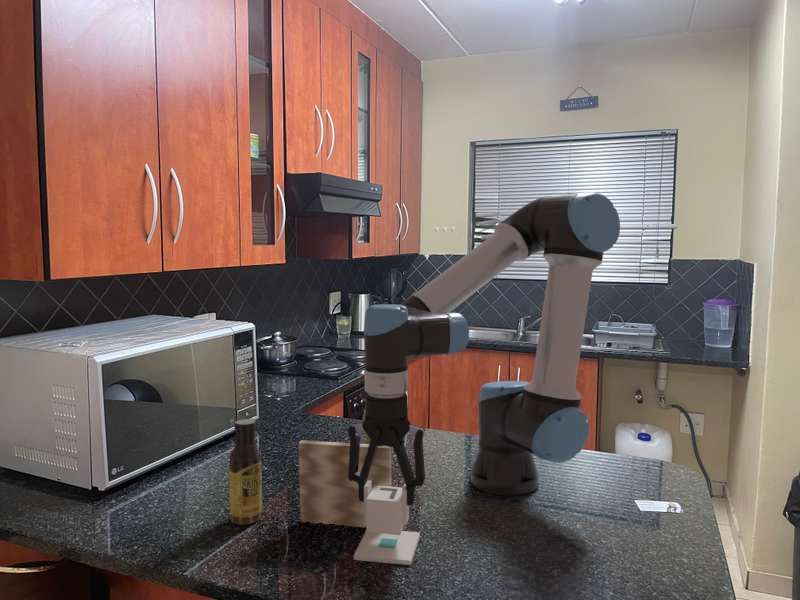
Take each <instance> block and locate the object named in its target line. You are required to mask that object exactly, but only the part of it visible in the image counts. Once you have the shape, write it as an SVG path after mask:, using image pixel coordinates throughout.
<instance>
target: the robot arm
mask: <svg viewBox="0 0 800 600" xmlns="http://www.w3.org/2000/svg"><path fill="white" fill-rule="evenodd" d="M493 231H494V233H492V234H491V235H490V236H489V237H487V238H486V239H485V240H484V241H482V242H481V243H480V244H478V245H477V246H475V248H473V249H471V251H469V252H468V253H466V254H465V255H463V256H462V257H460V259H459V260H457V261H456V262H455V263H453V264H452V265H451V266H449V267H448V268H447V269H445V270H444V271H443V272H441V273H440V274H439V275H437V276H436V277H434V278H433V279H432V280H430V281H429V282H428V283H426V285H424V286H423V287H421V289H419V290H417V291H416V292H415V293H413V294H412V295H411V296H410V297H408V298H407V299H405V300H404V301H402V302H401V303H400V304H397V303H396V304H395V303H393V304H392V303H391V304H387V303H386V304H385V303H383V304H373V305H369V306H368V307H367V308H366V310H365V313H364V322H363V323H364V325H363V336H364V340H363V341H364V391H365V396H364V410H365V419H364V421H363V420H362V422H360V423H355V422H353V423H351V424H350V425H349V426H348V427H347V433H348V436H349V440H350V442H349V443H350V454H349V469H348V479H349V480H350V481H355V482H357V483H358V486H359V501H362V502H364V522H366V519H367V497H368V496H369V494H370V492H371V490H372V481H370V480H368V481H367V478H368V475H369V472H370V469H371V466H372V463H373V460H374V457H375V454H376V451H377V448H378V446H385V445H386V446H389V447H391V448H392V449H393V451H394V453H395V455H396V458H397V461H398V462H397V463H398V464H399V468H400V471H401V475H402V477H403V480H404V484H403V486H402V525H404V526H407V524H408V522H409V520H410V506H413V505H414V502H415V500H416V497H415V496H416V489H415V488H417V487H422V486H423V485H424V482H425V480H426V470H425V468H426V467H425V457H424V456H425V455H424V444H423V442H424V441H423V439H424V436H425V434H426V433H425V432H426V428H425V427H424V426H419V427H417V426H414V425H412V424H411V422H410V420H409V416H408V415H409V414H408V413H409V411H408V410H409V409H408V408H409V407H408V406H409V405H408V403H409V401H408V400H409V399H408V398H409V397H408V395H407V393H406V392H408V389H409V385H408V383H409V382H408V381H409V375H408V374H409V373H408V372H409V371H408V370H409V369H408V368H409V365H408V364H409V363H408V362H409V358H417V357H418V358H419V357H427V356H438V355H439V356H441V355H446V356H447V355H451V354H454V353H455V354H456V353H460V352H462V351H464V350H465V349H466V347H467V346H468V344H469V342H470V341H469V340H470V328H469V325H468V322H467V320H466V318H465V317H464V315H462V314H461V313H459V312H452V311H453V310H455V309H456V308H457V307H458V306H460V305H461V304H462V303H463V302H465V301H466V300H467V299H469V298H470V297H472V296H473V295H474V294H475V293H476V292H478V291H479V290H480V289H482V288H483V287H484V286H485V285H486V284H488V283H489V282H491V281H492V280H493V279H494V278H496V277H497V276H498V275H499V274H501V273H502V272H503V271H505V270H506V269H507V268H509V266H511V265H512V264H514V262H523V261H525V260H526V259H527V258H529V257H530V256H531V255H534V254H537V253H540V252H543V255H542V257H543V258H544V259H545V261H546V262H547V263H548V266H549V267H548V273H547V280H546V286H545V294H544V299H543V306H542V312H541V320H540V326H539V331H538V339H537V346H536V350H535V351H536V352H535V359H534V364H533V365H534V366H533V373H532V378H531V380H530V381H529V382H528V381H525V380H524V381H523V380H503V381H492V382H488V383H485V384H484V383H483V385H481V386H480V388H479V391H478V392H479V393H478V400H477V403H478V449H477V451H476V455H475V457H474V461H473V462H472V463H473V464H472V466H471V470H470V482H471V484H472V486H473V487H475V488H476V489H477V490H479V491H482V492H485V493H487V494H492V495H496V496H510V497H511V496H521V495H526V494H530V493H532V492H534V491H535V490H537V488H538V487H539V472H538V469H537V465H536V463H535V460H534V457H533V455H534V456H536V458H539V459H542V460H545V461H549V462H551V463H554V464H555V463H556V464H561V463H565V462H568V461H570V460H572V459H574V458H575V457H576V456H577V455H578V454H579V453H580V452H581V451H582V450H583V448H584V447H585V445H586V443H587V441H588V438H589V436H590V421H589V419H588V416H587V415H586V413H585V412H584V411H583V409H581V404H582V403H581V402H582V395H581V394H580V393H579V392H578V390H577V388H576V384H577V378H578V377H577V376H578V371H579V365H580V363H579V362H580V357H581V350H582V343H583V336H584V330H585V326H586V325H585V323H586V319H587V317H586V316H587V311H588V304H589V297H590V291H591V285H592V283H591V282H592V278H593V271H594V270H595V269H597V267H599V266H600V265H602V264H603V257H604V253H605V252H607V251H609V250H610V249H612V248H613V246H614V245H615V244H616V243H617V242H618V239H619V236H620V233H621V220H620V215H619V213H618V211H617V208H616V207H615V205H614V204H613V201H611V200H610V199H609V198H608V197H607V196H605V195H604V194H602V193H599V192H583V191H579V192H576V193H570V194H560V195H549V196H548V195H547V196H542V197H539V198H536V199H534V200H532V201H531V202H529V203H527V204H525V205H524V206H522V207H521V208H519V209H518V210H516V211H515V212H513V213H512V214H511V215H509V216H508V217H507V218H505V219H504V220H502V221H501V222H500V223H498V224H497V225H496V226H495V227H494V230H493ZM363 430H364V433H365V432H366V433H367V435H368V436H369V438H370V439H371V441H370V444H369V447H368V451H367V454H366V458H365V461H364V464H363V467H362V470H361V473H359V472H358V466H359V451H360V444H361V435H362V434H363ZM408 433H409V434H410V437H411V439H412V440H413V454H414V468H415V470H414V471H415V475H414V471H413V468H412V467H411V463H410V460H409V457H408V453H407V450H406V448H405V442H404V438H405V437H406V435H407V434H408Z"/></svg>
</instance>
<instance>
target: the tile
mask: <svg viewBox="0 0 800 600" xmlns="http://www.w3.org/2000/svg"><path fill="white" fill-rule="evenodd" d="M420 538H421V532H417V531H406V530H402V532H401V535H392V534H382V533H372V532H366V531H365V532H364V534H363V536H362V538H361V540H360V542H359V545H358V547H357V548H356V550H355V552H354V554H353V560H355V561H361V562H372V563H374V562H375V563H383V564H392V565H394V564H395V565H405V566H411V565H412V563H413V560H414V556H415V553H416V551H417V550H416V549H417V546H418V544H419V540H420Z"/></svg>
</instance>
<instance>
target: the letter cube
mask: <svg viewBox="0 0 800 600" xmlns="http://www.w3.org/2000/svg"><path fill="white" fill-rule="evenodd" d="M402 488H403V486H402V487H399V486H392V487H390V486H379V485H374V487H373V489H372V490H371V492H370V494H369V496H368V497H367V519H366V529H365V532H372V533H382V534H392V535H401V532H402V531H403V530H404V529H403V528H404V526H405V525H402Z"/></svg>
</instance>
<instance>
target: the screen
mask: <svg viewBox="0 0 800 600" xmlns="http://www.w3.org/2000/svg"><path fill="white" fill-rule="evenodd" d="M368 447H369V444H366V443H360V451H359V466H358V472H359V473H361V470H362V467H363V464H364V461H365V458H366V454H367V451H368ZM349 454H350V442H338V441H334V442H333V441H320V440H319V441H318V440H303V439H302V440H300V441H299V442H298V471H299V472H298V473H299V476H298V477H299V507H300V508H299V512H300V515H299V516H300V522H301V521H302V522H301V523H306V522H310V523H309V524H318V523H323V524H322V525H329V524H335V525H334V526H341V525H344V526H343V527H345V526H346V527H356V528H357V527H358V528H365V527H366V522H364V502H362V501H359V486H358V483H357V482H355V481H350V480H349V479H348V469H349ZM368 480H370V481H372V489H373V487H374V485H379V486H390V487H393V486H392V447H389V446H386V445H385V446H378V448H377V451H376V454H375V457H374V460H373V463H372V466H371V469H370V472H369V475H368V478H367V481H368Z"/></svg>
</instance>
